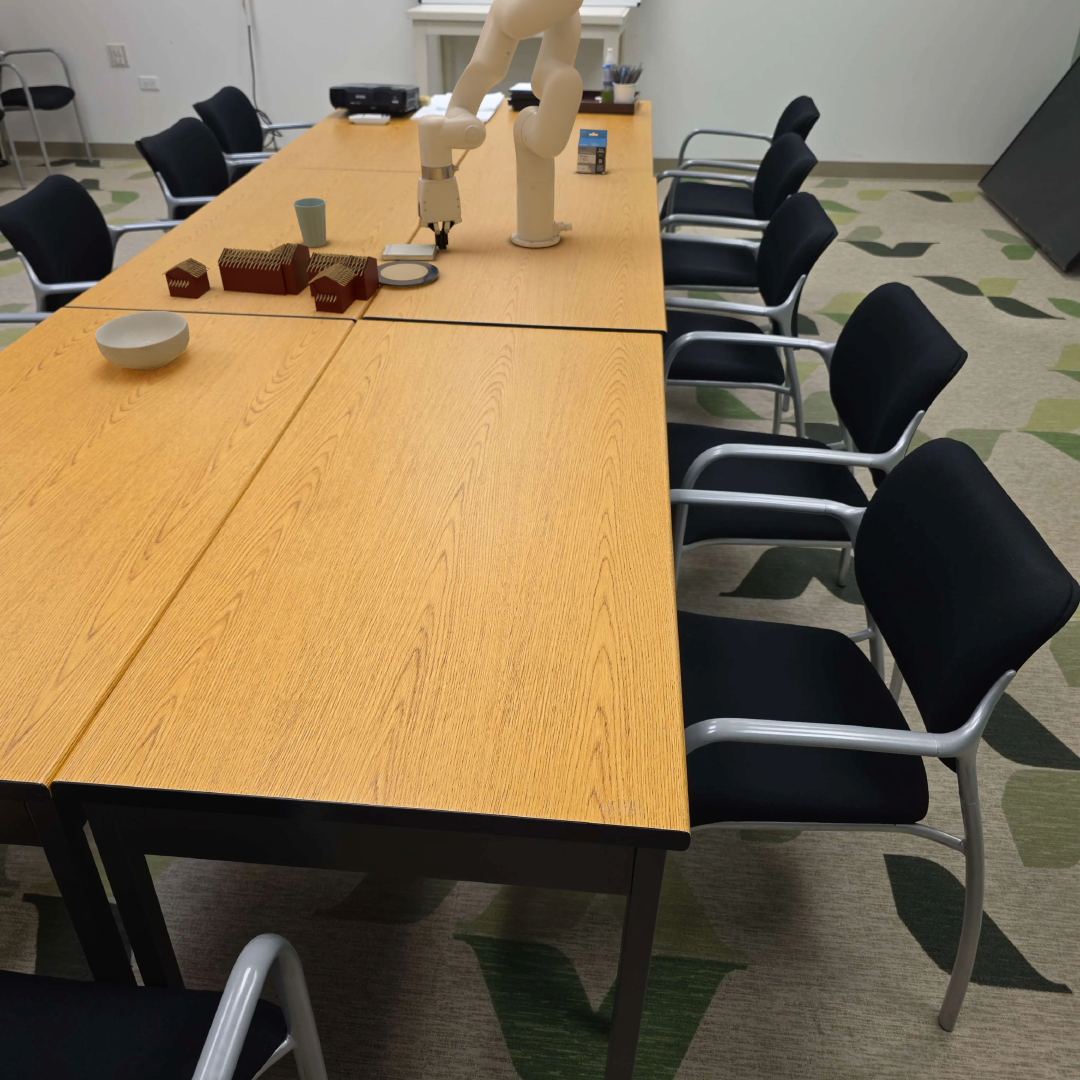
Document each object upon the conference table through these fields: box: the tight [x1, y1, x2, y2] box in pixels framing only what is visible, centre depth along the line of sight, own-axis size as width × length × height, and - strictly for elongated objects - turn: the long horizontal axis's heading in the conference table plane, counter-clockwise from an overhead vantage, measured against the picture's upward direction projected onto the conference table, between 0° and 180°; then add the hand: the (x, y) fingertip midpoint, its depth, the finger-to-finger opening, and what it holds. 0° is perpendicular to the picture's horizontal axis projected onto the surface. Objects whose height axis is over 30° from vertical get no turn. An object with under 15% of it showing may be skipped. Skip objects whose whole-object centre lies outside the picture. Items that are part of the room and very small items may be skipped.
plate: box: [377, 260, 440, 288], centre depth 214 cm, size 16×16×1 cm
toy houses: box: [161, 242, 381, 315], centre depth 204 cm, size 45×20×10 cm, turn 79°
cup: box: [293, 197, 327, 248], centre depth 230 cm, size 8×8×10 cm
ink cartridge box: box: [576, 128, 608, 175], centre depth 286 cm, size 9×4×12 cm, turn 80°
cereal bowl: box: [94, 310, 190, 371], centre depth 175 cm, size 17×17×7 cm
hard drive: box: [381, 243, 438, 261], centre depth 227 cm, size 2×8×12 cm
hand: (442, 248), depth 229 cm, fingers closed
